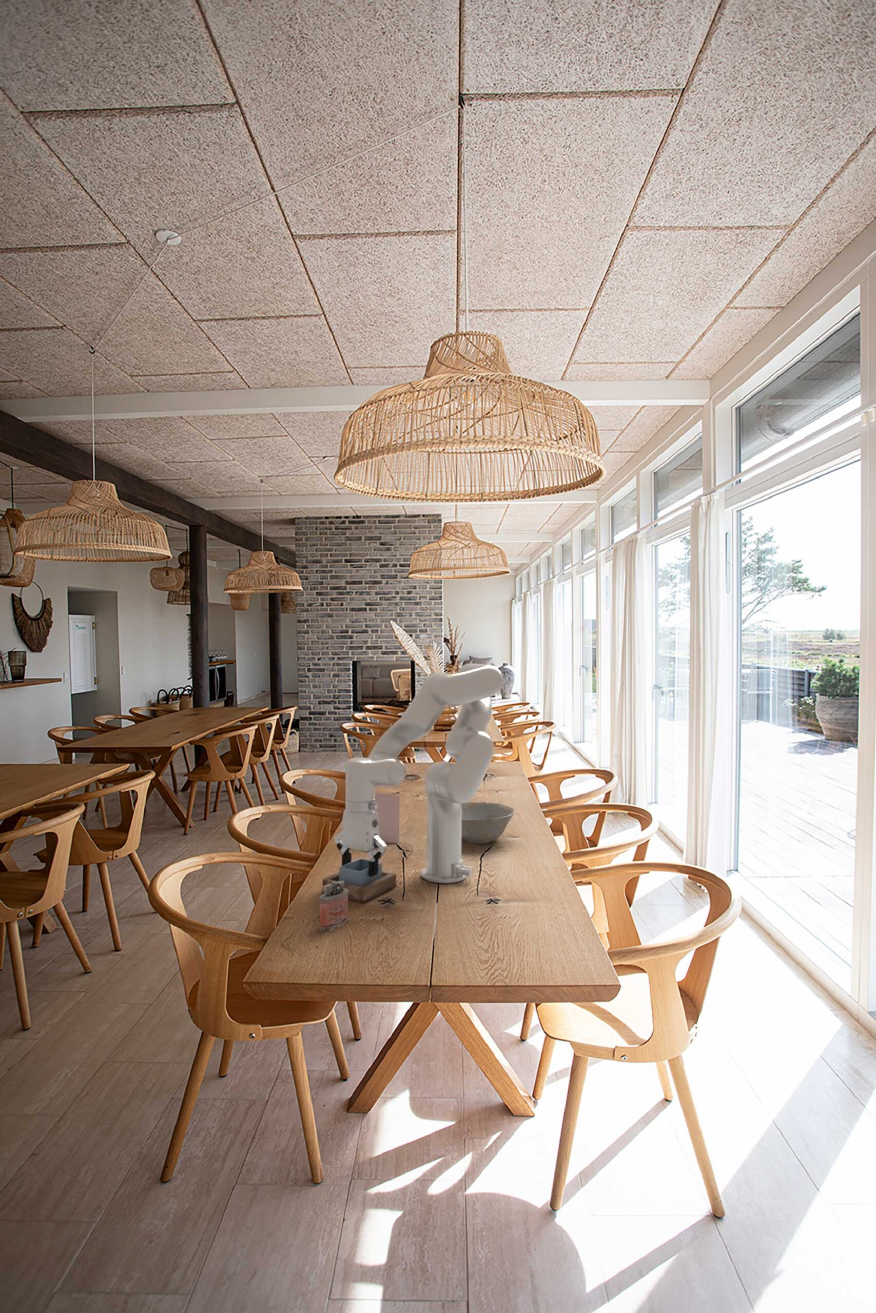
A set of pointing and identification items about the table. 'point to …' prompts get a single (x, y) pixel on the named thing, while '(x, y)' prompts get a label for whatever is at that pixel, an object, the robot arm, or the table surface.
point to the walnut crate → (366, 887)
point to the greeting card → (388, 816)
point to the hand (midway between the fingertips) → (359, 871)
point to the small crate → (358, 873)
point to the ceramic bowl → (484, 821)
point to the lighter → (333, 906)
